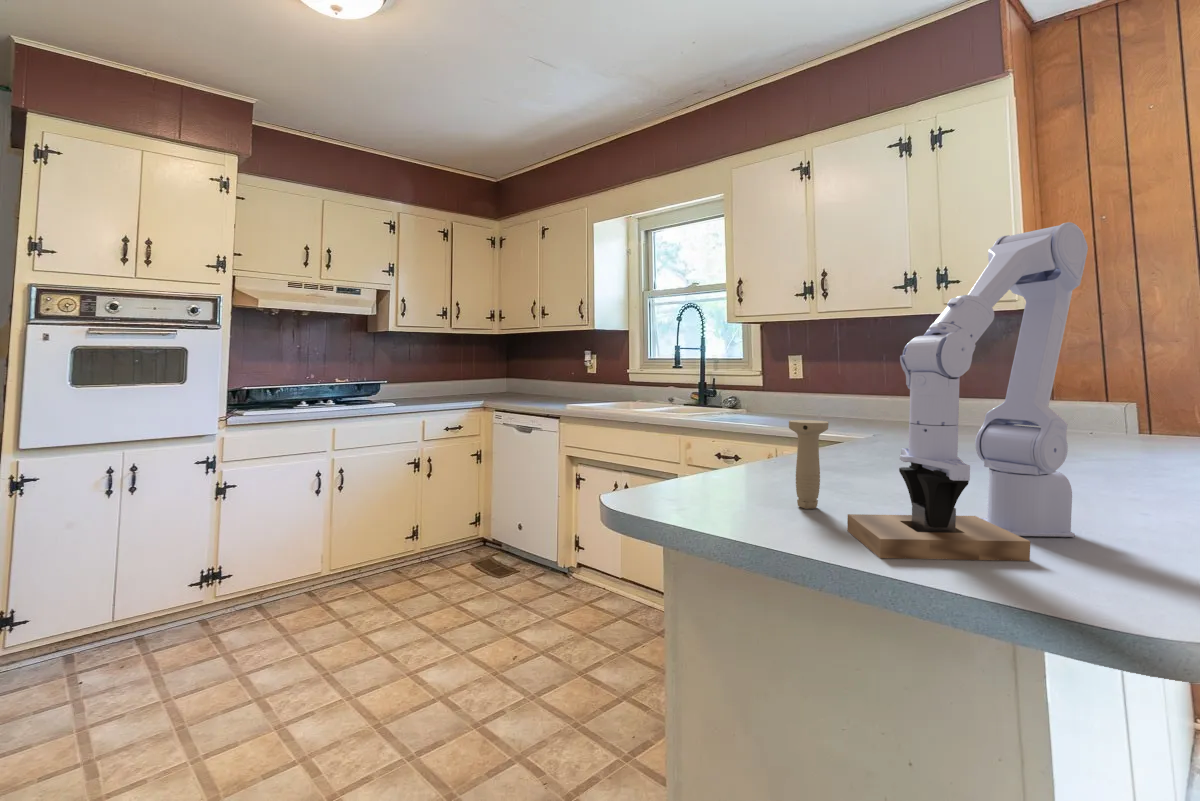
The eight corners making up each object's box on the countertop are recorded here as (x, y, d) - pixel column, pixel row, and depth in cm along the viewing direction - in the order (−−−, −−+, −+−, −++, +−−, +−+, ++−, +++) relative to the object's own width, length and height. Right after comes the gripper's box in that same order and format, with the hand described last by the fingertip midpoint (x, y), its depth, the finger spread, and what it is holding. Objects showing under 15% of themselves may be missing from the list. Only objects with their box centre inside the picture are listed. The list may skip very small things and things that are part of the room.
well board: (974, 532, 82) (975, 515, 82) (1029, 560, 70) (1030, 541, 70) (847, 530, 84) (847, 514, 84) (880, 558, 72) (880, 538, 72)
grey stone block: (940, 541, 79) (941, 502, 78) (954, 549, 75) (956, 508, 75) (911, 540, 79) (912, 502, 79) (923, 548, 76) (924, 508, 75)
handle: (824, 512, 94) (825, 423, 93) (785, 508, 98) (785, 422, 97) (829, 506, 98) (830, 421, 97) (791, 502, 102) (792, 419, 101)
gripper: (880, 418, 84) (878, 508, 85) (928, 429, 69) (925, 538, 70) (930, 418, 83) (928, 509, 84) (989, 429, 69) (985, 539, 69)
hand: (930, 522), depth 77 cm, fingers closed on grey stone block, 3 cm apart
